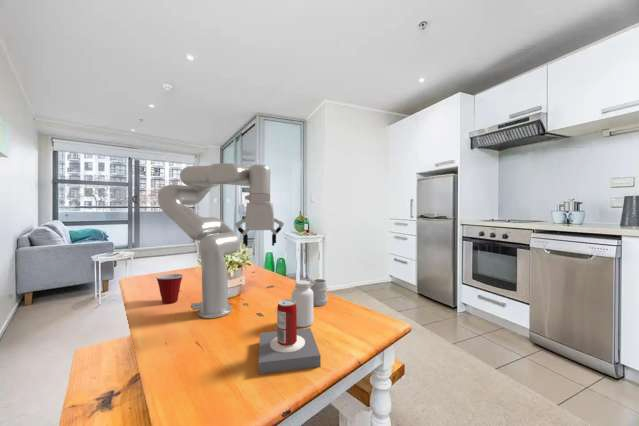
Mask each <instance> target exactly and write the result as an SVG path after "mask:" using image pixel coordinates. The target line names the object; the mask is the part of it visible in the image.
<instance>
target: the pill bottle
mask: <svg viewBox="0 0 639 426" xmlns="http://www.w3.org/2000/svg"><path fill="white" fill-rule="evenodd" d="M294 284H295V287H294V289H293V290H292V291H291V300H294V301H295V303H296V306H297V328H307V327H310V326H312V325H313V324H314V305H313V291H312V290H311V288H310V282H309V281H307V280H302V279H301V280H297V281H295V283H294Z"/></svg>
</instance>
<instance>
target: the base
mask: <svg viewBox="0 0 639 426" xmlns="http://www.w3.org/2000/svg"><path fill="white" fill-rule="evenodd" d="M258 347H259V348H258V375H263V374H262V373H266V374H272V373H271V372H273V373H280V372H279V371H281V372H286V371H285V370H289V371H296V370H304V369H311V368H318V367H321V366H322V365H321V364H322V363H321V362H322V361H321V360H322V359H321V353H320V351H319V348H318V345H317V341H316V339H315V337H314V334H313V331H312V329H311V327H308V328H307V327H305V328H300V329H299V328H298V329H297V341H296V343H295V344H294V345H292V346H288V347H284V346H281V345H280V344H279V343H278V341H277V331H267V332H259V346H258Z"/></svg>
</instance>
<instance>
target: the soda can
mask: <svg viewBox="0 0 639 426" xmlns="http://www.w3.org/2000/svg"><path fill="white" fill-rule="evenodd" d="M276 310H277V311H276V317H277V323H276V325H277V341H278V343H279V344H280V345H281V346H284V347H288V346H292V345H294V344H295V343H296V341H297V328H298V327H297V306H296V303H295V301H294V300H292V298H291V299H289V298H285V299H281V300H279V301H278V304H277V307H276Z"/></svg>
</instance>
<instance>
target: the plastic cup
mask: <svg viewBox="0 0 639 426" xmlns="http://www.w3.org/2000/svg"><path fill="white" fill-rule="evenodd" d="M183 277H184V274H181V273H167V274H160V275H157V276H156V277H155V279H156V280H157V284H158V288H159V294H160V298H161V302H162V304H164V305H170V304H174V303H177V302H178V301H179V300H178V299H179V294H180V288H181V282H182V279H183Z"/></svg>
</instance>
